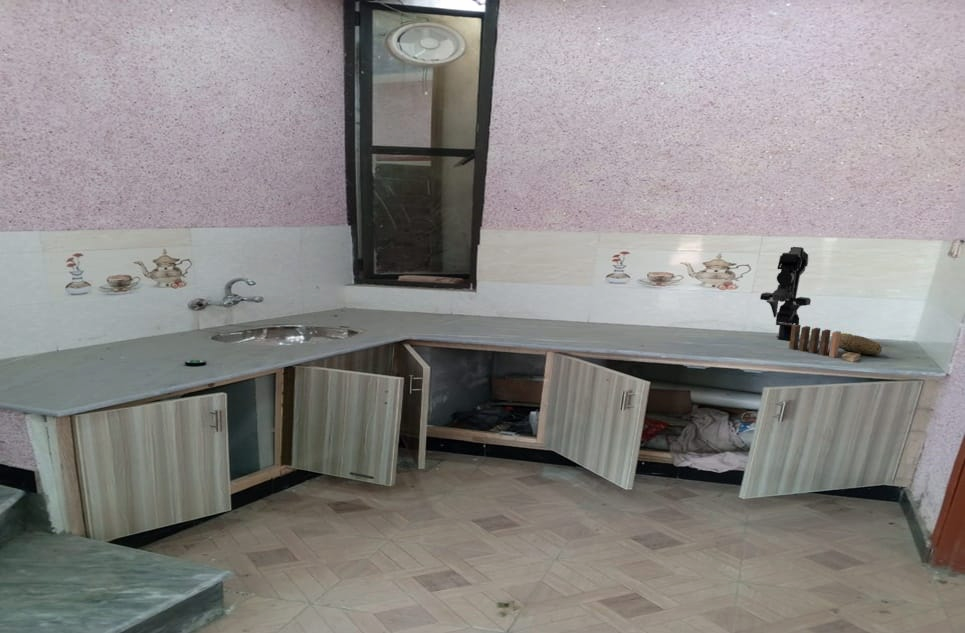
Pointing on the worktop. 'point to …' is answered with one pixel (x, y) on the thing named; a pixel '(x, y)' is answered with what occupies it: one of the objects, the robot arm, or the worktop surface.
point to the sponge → (859, 344)
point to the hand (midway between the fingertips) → (782, 318)
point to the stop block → (850, 356)
